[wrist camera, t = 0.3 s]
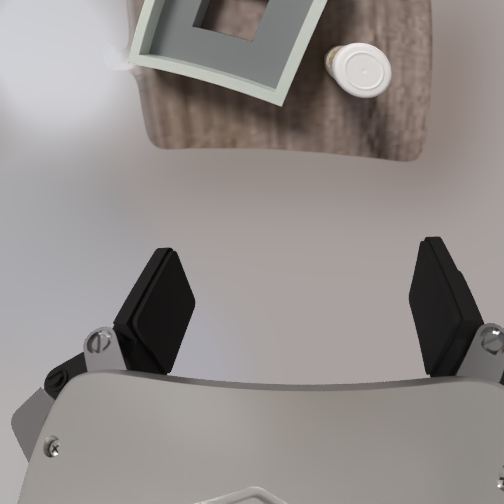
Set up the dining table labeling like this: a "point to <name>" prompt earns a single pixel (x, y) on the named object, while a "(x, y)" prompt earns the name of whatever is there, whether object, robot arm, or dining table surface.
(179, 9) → the open box
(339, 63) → the sprinkles bottle
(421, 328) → the robot arm
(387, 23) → the dining table surface
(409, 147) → the dining table surface
